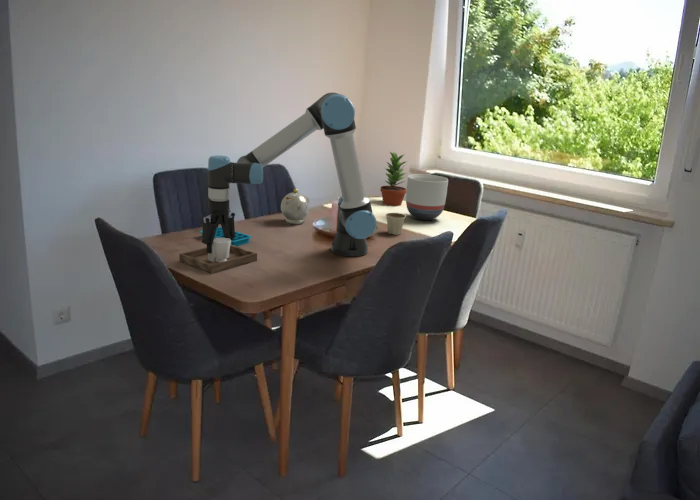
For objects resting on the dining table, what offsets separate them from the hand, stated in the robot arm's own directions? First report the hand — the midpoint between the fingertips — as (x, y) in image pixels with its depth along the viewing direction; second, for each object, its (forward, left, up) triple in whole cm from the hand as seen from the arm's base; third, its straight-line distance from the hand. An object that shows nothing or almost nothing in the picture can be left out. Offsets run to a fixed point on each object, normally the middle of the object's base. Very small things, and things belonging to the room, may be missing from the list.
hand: (218, 258), depth 224 cm
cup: (0, 0, 0) cm, 0 cm away
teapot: (+20, -65, -1) cm, 68 cm away
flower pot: (-22, -86, -1) cm, 89 cm away
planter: (-17, -121, -1) cm, 122 cm away
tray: (0, 0, -1) cm, 1 cm away
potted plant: (+13, -137, -1) cm, 138 cm away
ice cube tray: (+19, -20, -1) cm, 28 cm away
